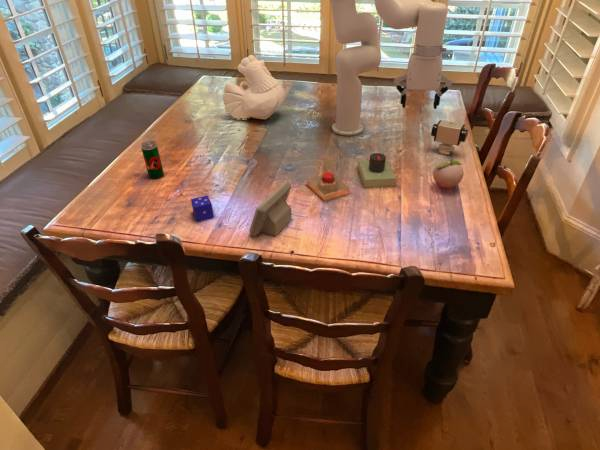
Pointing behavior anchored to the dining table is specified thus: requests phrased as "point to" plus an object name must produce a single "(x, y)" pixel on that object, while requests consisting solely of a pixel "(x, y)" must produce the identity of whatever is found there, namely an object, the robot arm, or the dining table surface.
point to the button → (328, 177)
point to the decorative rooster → (253, 92)
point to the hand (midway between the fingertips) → (419, 106)
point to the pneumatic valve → (448, 135)
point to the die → (202, 208)
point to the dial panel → (376, 175)
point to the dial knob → (377, 162)
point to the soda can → (152, 159)
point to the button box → (328, 187)
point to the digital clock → (272, 212)
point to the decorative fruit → (448, 174)
